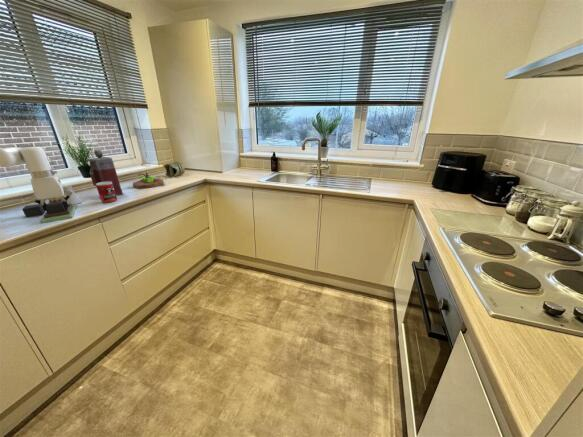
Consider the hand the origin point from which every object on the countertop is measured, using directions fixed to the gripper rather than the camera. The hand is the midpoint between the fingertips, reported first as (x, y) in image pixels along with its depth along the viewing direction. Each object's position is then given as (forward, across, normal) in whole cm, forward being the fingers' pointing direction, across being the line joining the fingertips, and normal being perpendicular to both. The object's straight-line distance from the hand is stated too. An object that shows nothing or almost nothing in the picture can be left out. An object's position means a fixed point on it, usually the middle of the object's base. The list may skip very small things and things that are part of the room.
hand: (57, 210), depth 118 cm
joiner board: (+3, 0, -3) cm, 4 cm away
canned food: (+3, -20, -14) cm, 25 cm away
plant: (+3, -44, -44) cm, 62 cm away
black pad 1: (+3, +11, -11) cm, 15 cm away
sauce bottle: (+3, +6, -34) cm, 34 cm away
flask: (+3, -3, -23) cm, 23 cm away
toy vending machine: (+3, -20, -29) cm, 35 cm away
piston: (+3, -66, -65) cm, 93 cm away
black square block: (+1, 0, 0) cm, 1 cm away
